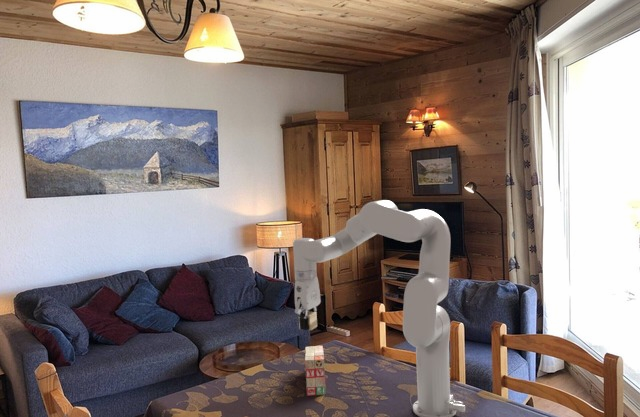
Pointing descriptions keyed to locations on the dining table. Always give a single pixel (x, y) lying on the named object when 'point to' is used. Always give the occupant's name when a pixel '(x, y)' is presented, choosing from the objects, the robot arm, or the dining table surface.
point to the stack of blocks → (315, 370)
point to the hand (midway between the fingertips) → (308, 326)
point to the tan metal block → (311, 320)
